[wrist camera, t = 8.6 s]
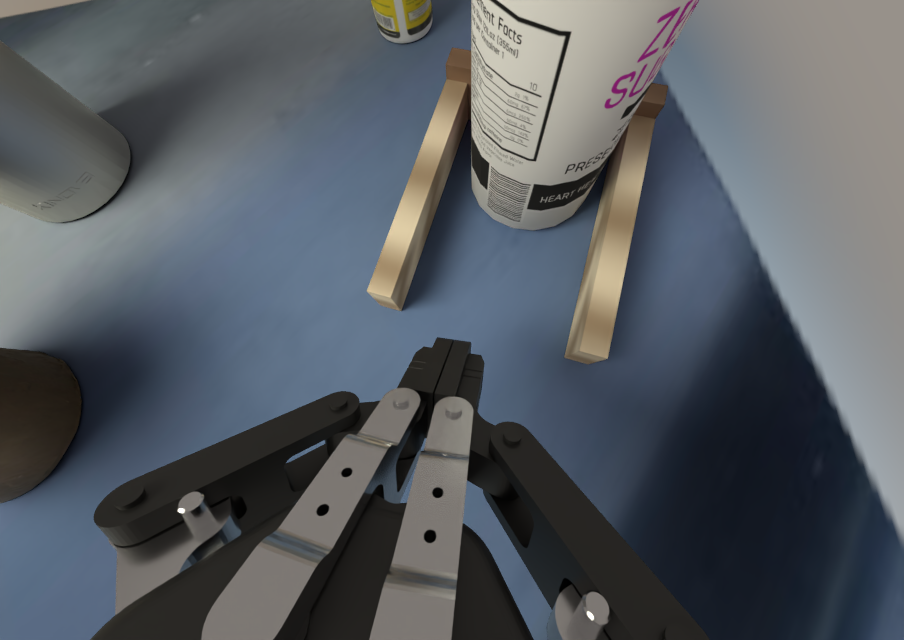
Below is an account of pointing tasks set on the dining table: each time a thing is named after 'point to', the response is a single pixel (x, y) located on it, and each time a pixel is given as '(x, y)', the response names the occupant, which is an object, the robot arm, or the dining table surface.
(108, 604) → the dining table surface
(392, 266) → the bay
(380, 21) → the supplement bottle
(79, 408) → the pillar candle
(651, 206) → the dining table surface
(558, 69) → the supplement can
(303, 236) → the dining table surface
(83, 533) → the dining table surface
